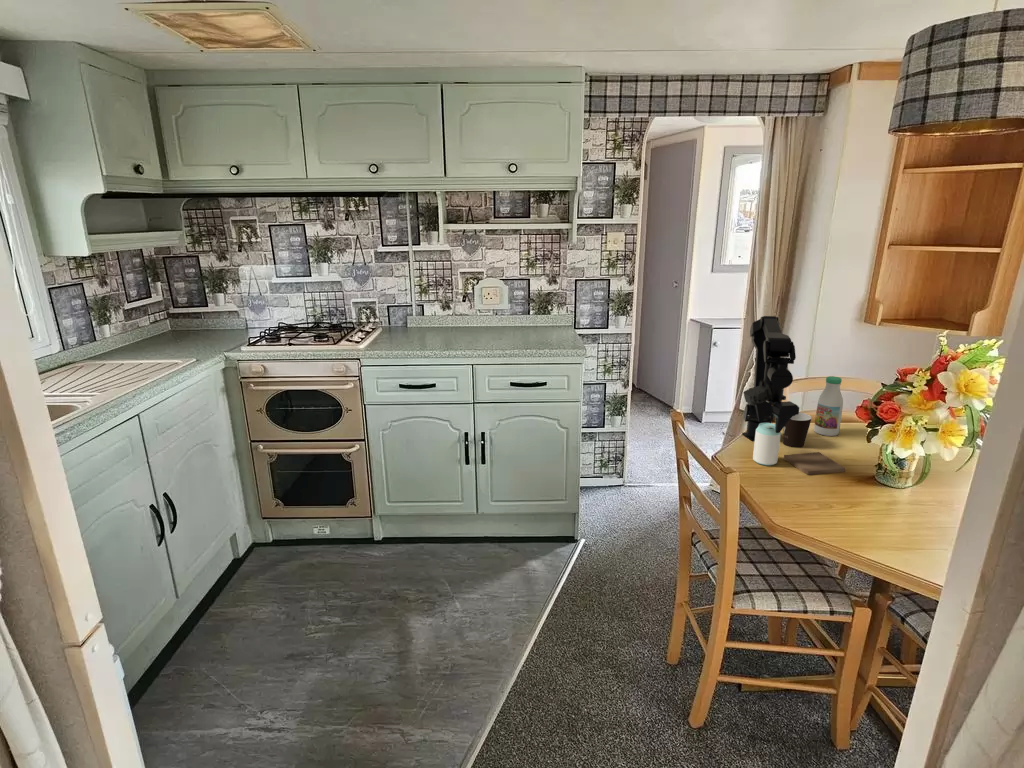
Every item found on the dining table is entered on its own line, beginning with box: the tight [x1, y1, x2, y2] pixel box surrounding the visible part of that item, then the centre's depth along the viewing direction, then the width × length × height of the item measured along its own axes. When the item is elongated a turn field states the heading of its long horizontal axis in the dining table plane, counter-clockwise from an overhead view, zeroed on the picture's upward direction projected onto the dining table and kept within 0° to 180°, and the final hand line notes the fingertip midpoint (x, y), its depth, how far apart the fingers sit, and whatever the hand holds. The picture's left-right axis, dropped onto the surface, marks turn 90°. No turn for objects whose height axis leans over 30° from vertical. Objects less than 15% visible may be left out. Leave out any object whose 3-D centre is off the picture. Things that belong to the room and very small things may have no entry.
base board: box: [783, 451, 846, 476], centre depth 175 cm, size 12×12×1 cm
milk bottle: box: [813, 375, 844, 437], centre depth 197 cm, size 8×8×20 cm
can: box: [752, 422, 782, 466], centre depth 177 cm, size 7×7×12 cm
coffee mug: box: [782, 411, 812, 449], centre depth 191 cm, size 12×9×10 cm
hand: (768, 427), depth 175 cm, fingers open, 9 cm apart
